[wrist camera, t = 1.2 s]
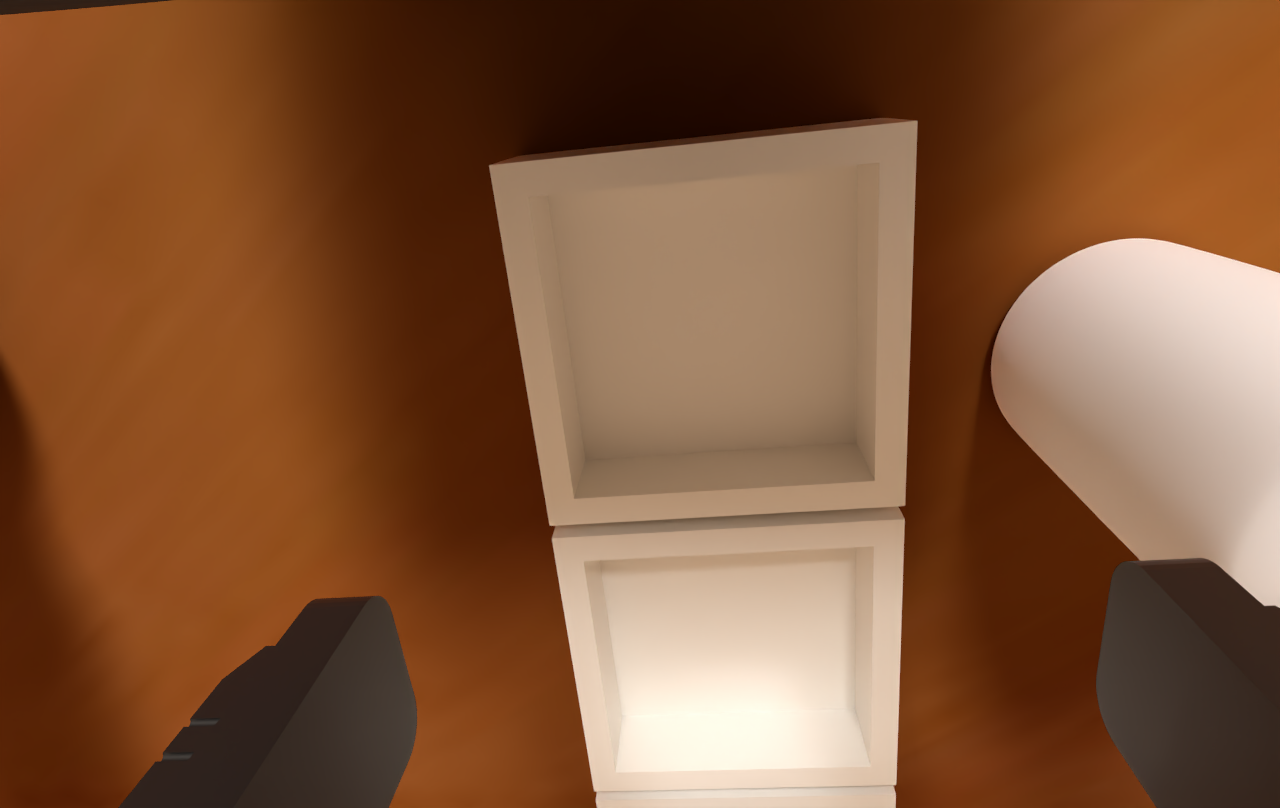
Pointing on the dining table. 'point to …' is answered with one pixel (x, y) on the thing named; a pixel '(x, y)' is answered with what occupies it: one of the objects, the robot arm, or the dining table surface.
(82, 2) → the flower pot
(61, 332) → the dining table surface
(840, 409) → the dish
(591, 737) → the dish
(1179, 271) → the can
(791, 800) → the dish
